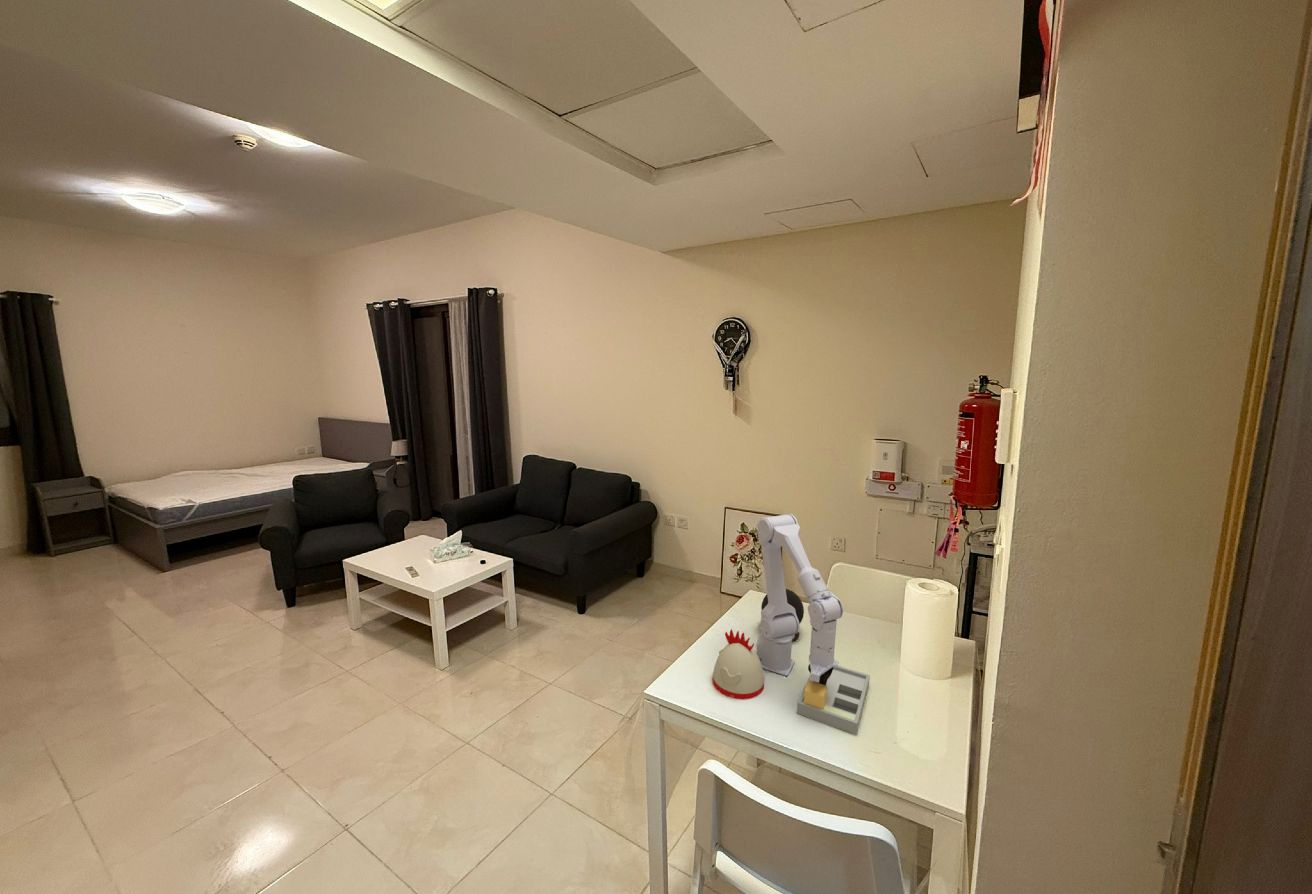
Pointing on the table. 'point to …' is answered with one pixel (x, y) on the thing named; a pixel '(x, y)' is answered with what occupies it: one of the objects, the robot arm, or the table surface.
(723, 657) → the kitchen timer
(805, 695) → the block
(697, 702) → the table surface
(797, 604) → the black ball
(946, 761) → the table surface
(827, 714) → the box
